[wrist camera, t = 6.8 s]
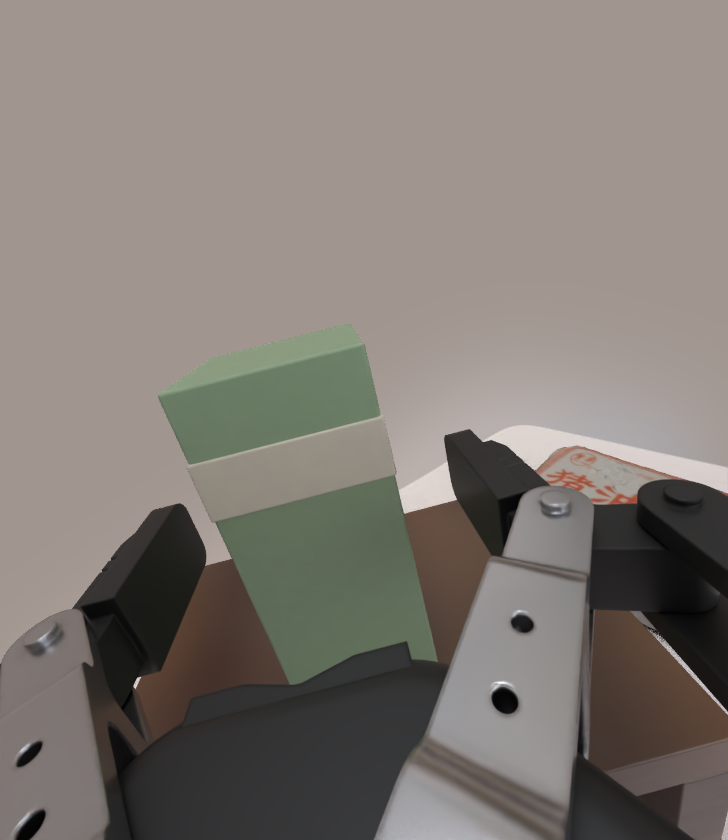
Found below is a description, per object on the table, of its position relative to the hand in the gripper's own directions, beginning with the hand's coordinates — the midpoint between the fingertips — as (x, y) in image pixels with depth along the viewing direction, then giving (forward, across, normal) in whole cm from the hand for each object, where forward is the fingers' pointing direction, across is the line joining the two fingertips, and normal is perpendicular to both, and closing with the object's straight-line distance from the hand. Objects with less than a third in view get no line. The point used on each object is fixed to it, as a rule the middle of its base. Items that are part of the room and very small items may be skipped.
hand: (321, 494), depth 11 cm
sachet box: (0, 0, +6) cm, 7 cm away
